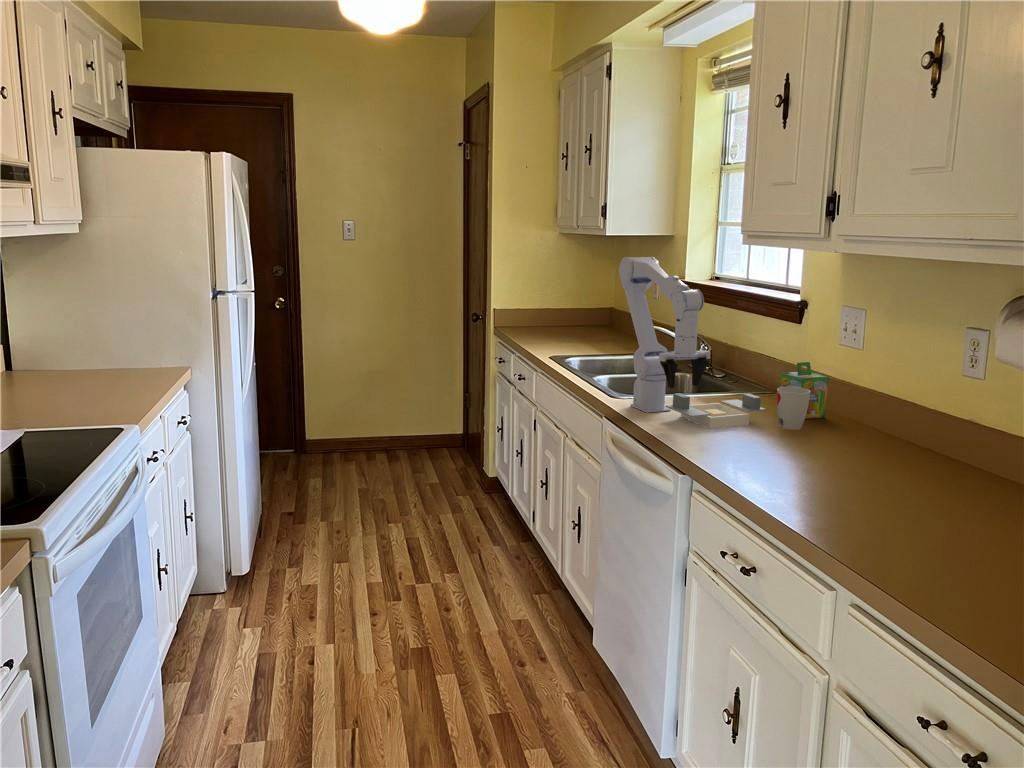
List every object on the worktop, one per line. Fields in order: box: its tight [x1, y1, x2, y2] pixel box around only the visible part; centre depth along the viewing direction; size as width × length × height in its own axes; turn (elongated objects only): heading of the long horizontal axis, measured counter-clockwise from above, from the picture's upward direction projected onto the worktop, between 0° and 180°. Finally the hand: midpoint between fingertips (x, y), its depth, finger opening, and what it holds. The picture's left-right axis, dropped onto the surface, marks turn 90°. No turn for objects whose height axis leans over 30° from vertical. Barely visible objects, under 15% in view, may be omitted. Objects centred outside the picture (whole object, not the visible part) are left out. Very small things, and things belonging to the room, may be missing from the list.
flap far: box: [720, 393, 767, 413], centre depth 218 cm, size 12×6×4 cm, turn 21°
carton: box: [680, 402, 751, 429], centre depth 216 cm, size 14×12×3 cm
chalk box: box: [780, 361, 830, 420], centre depth 222 cm, size 9×9×15 cm
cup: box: [776, 386, 810, 431], centre depth 209 cm, size 8×8×10 cm
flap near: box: [665, 392, 710, 417], centre depth 212 cm, size 12×6×4 cm, turn 21°
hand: (683, 386), depth 214 cm, fingers open, 7 cm apart
